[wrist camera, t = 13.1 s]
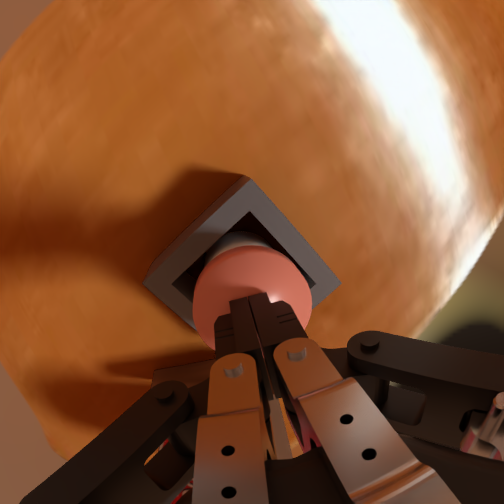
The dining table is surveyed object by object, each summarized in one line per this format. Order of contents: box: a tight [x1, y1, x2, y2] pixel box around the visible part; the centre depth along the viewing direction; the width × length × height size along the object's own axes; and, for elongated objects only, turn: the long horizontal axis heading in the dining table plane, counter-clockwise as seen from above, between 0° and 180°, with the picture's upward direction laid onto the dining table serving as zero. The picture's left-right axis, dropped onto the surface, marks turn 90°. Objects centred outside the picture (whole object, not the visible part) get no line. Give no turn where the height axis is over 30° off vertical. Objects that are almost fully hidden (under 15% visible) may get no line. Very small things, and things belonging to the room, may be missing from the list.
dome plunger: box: [193, 231, 312, 358], centre depth 14 cm, size 5×5×5 cm
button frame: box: [142, 175, 341, 331], centre depth 16 cm, size 7×7×3 cm
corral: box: [151, 359, 293, 460], centre depth 19 cm, size 8×11×4 cm
